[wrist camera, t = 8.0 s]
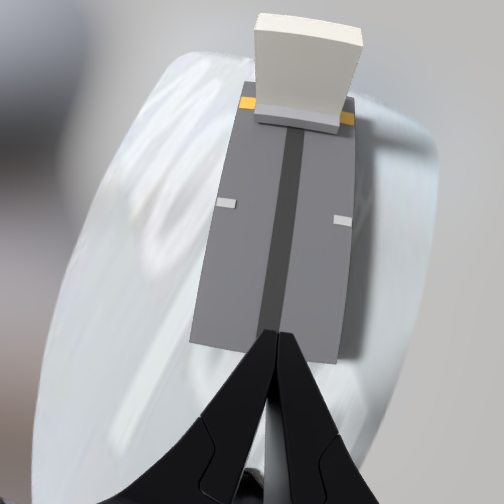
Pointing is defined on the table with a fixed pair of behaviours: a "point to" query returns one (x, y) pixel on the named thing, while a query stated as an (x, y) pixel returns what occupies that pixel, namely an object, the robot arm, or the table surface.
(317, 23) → the fader
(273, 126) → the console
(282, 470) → the robot arm
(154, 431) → the table surface
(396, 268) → the table surface
